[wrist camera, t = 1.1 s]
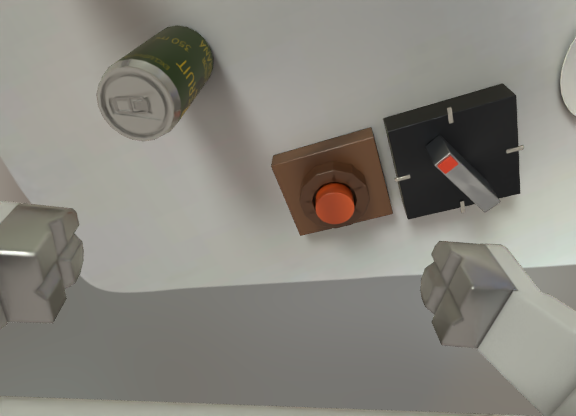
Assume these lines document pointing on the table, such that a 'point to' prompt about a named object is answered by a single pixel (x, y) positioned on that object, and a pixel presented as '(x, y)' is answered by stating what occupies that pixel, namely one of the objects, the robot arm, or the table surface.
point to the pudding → (569, 79)
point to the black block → (456, 148)
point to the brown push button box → (333, 179)
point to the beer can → (155, 83)
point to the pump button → (334, 203)
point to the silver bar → (462, 173)
